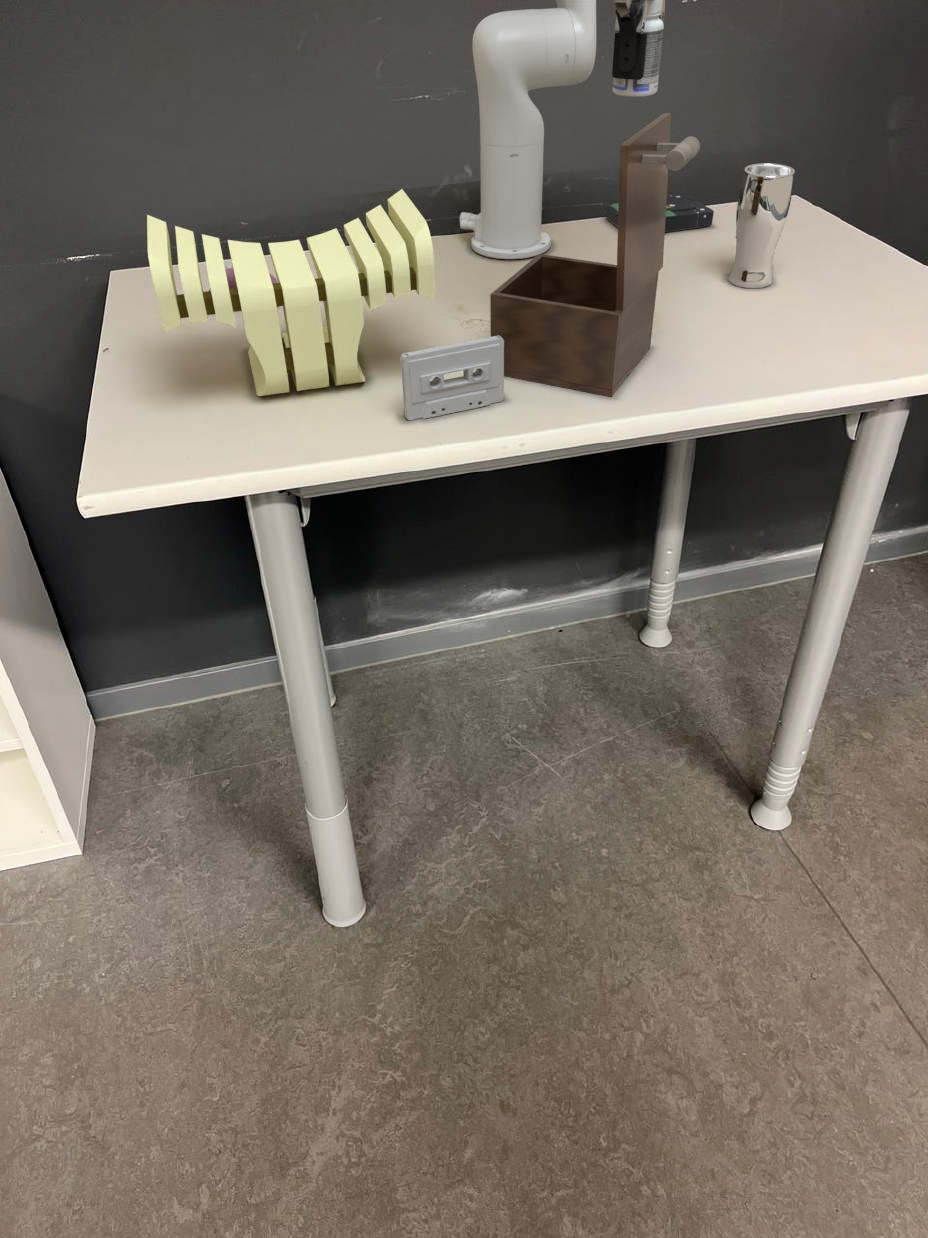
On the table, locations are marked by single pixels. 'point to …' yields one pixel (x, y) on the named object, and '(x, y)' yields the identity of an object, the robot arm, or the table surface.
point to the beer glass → (760, 222)
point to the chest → (571, 324)
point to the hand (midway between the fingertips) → (635, 70)
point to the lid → (645, 203)
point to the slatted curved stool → (298, 291)
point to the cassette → (454, 392)
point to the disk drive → (675, 213)
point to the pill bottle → (646, 57)
